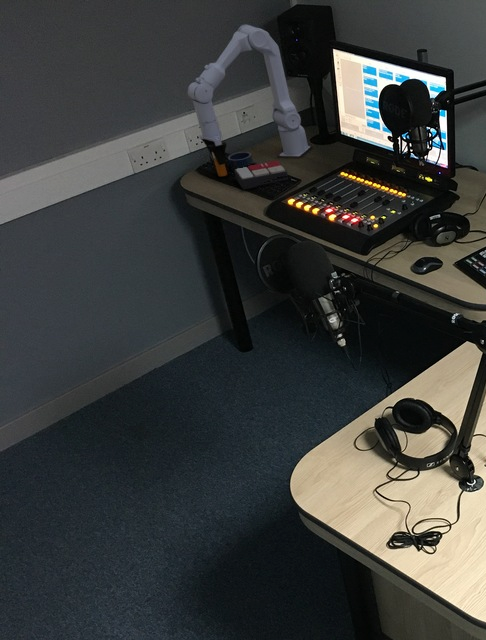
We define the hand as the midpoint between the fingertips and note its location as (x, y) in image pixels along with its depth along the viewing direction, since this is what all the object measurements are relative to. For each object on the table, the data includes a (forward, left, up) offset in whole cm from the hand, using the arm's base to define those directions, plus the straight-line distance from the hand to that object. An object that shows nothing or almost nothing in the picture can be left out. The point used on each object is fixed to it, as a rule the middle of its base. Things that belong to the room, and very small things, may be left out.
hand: (219, 160), depth 282 cm
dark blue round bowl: (-8, +3, -5) cm, 10 cm away
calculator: (+3, +16, -6) cm, 17 cm away
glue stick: (0, 0, -5) cm, 5 cm away
